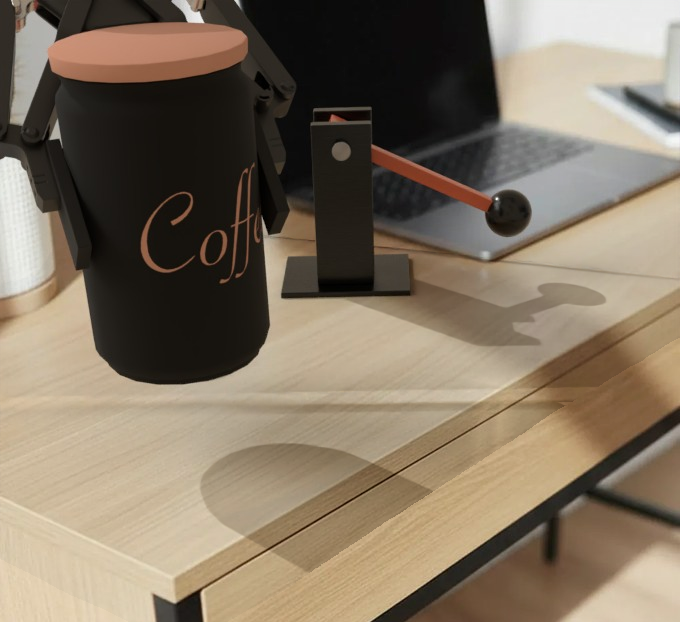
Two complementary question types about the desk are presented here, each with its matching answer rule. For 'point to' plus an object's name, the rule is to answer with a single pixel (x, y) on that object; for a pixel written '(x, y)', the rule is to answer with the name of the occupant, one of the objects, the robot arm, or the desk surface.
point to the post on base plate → (344, 217)
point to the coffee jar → (166, 196)
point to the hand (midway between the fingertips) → (184, 240)
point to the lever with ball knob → (463, 193)
